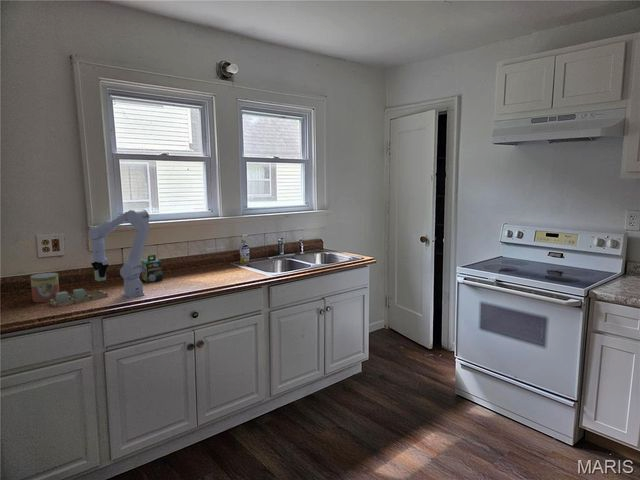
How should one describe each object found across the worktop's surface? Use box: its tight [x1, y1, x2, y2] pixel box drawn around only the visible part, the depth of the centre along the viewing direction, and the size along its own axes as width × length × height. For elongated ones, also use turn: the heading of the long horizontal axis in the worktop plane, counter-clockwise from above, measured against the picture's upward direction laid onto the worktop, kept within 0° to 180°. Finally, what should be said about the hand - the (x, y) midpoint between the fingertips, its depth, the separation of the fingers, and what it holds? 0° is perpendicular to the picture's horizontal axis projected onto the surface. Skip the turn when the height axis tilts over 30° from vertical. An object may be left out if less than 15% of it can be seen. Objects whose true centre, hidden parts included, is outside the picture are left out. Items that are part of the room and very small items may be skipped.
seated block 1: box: [56, 290, 70, 302], centre depth 194 cm, size 4×4×5 cm
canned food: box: [30, 272, 60, 303], centre depth 200 cm, size 11×11×12 cm
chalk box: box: [140, 254, 164, 283], centre depth 241 cm, size 9×9×15 cm
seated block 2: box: [72, 288, 86, 299], centre depth 199 cm, size 4×4×5 cm
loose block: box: [93, 269, 107, 282], centre depth 213 cm, size 4×4×5 cm
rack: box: [49, 289, 109, 308], centre depth 200 cm, size 8×23×2 cm, turn 139°
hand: (100, 276), depth 213 cm, fingers closed on loose block, 4 cm apart
